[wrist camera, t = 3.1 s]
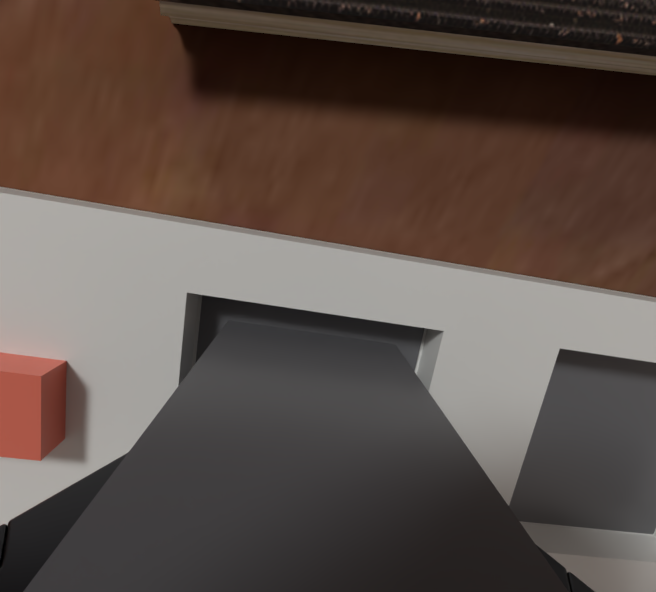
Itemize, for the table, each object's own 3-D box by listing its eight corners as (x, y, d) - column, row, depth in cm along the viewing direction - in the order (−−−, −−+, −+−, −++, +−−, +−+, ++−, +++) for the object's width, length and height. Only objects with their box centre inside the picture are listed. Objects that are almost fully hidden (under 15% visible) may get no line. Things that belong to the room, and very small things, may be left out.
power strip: (661, 550, 13) (755, 638, 10) (-445, 446, 10) (-736, 535, 7) (764, 316, 11) (913, 348, 8) (-556, 92, 8) (-1010, 27, 5)
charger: (363, 485, 10) (479, 1025, 3) (210, 469, 10) (-8, 1047, 3) (395, 344, 9) (638, 689, 3) (228, 320, 9) (-24, 654, 2)
